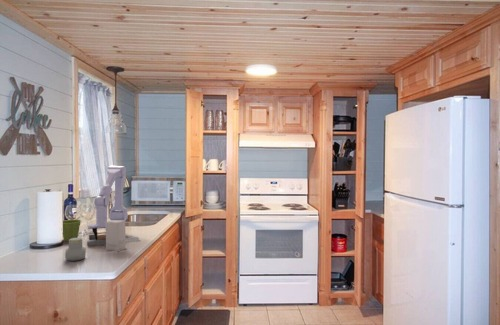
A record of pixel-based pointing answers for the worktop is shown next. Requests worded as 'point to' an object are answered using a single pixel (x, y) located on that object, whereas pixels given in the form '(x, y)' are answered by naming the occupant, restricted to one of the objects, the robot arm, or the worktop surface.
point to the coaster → (132, 239)
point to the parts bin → (95, 241)
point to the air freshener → (75, 250)
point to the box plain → (101, 232)
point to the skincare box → (115, 235)
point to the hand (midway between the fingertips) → (101, 241)
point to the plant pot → (70, 229)
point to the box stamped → (101, 236)
